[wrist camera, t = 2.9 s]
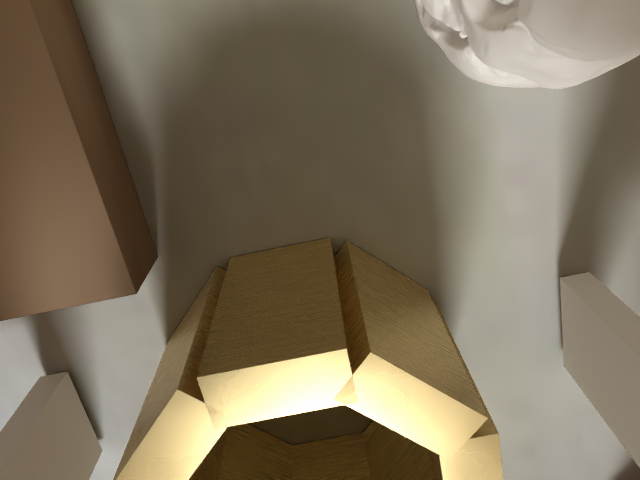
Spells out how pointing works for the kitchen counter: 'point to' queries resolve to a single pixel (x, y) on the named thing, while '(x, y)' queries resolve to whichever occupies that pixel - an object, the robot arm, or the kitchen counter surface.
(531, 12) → the garlic bulb
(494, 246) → the kitchen counter surface
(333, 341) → the ring
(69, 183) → the shaft block
